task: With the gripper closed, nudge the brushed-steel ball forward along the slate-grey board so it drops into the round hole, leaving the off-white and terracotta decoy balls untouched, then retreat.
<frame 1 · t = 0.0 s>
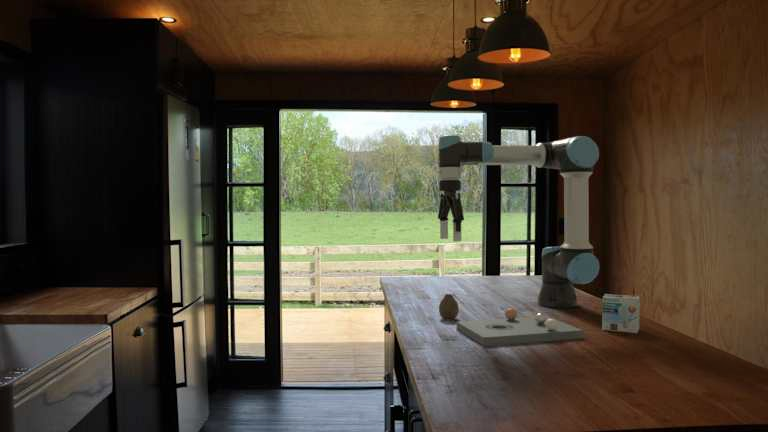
hand: (450, 240, 201), 28 cm above the kitchen island, fingers open, 13 cm apart
steel ball: (540, 318, 180), point 4 cm above the kitchen island, touching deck
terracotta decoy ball: (511, 313, 187), point 4 cm above the kitchen island, touching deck
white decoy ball: (551, 324, 172), point 4 cm above the kitchen island, touching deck
vase: (448, 319, 202), on the kitchen island
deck: (517, 333, 179), on the kitchen island
light bulb box: (620, 330, 182), on the kitchen island
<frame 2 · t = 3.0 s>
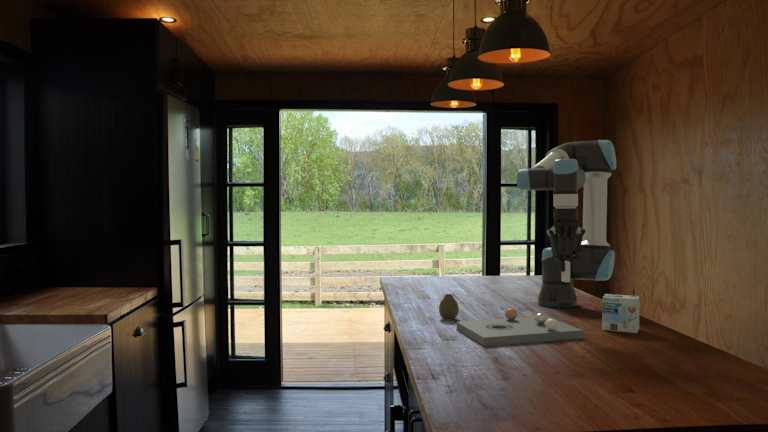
hand: (565, 281, 182), 16 cm above the kitchen island, fingers closed
nothing on the kitchen island moved.
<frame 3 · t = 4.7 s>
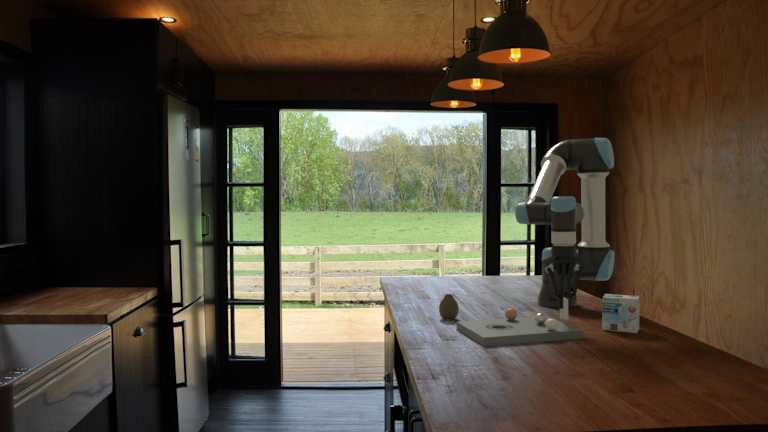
hand: (563, 318, 182), 4 cm above the kitchen island, fingers closed
nothing on the kitchen island moved.
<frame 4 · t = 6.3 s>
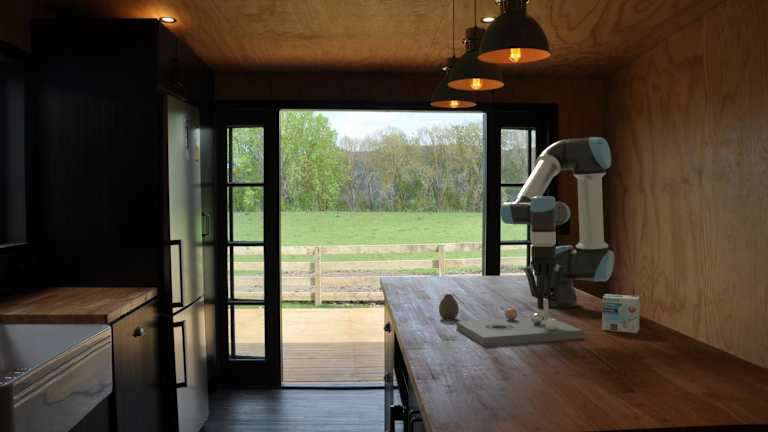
hand: (544, 319, 180), 4 cm above the kitchen island, fingers closed
steel ball: (537, 319, 180), point 4 cm above the kitchen island, tilted 38°, touching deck, gripper
everything else where it was.
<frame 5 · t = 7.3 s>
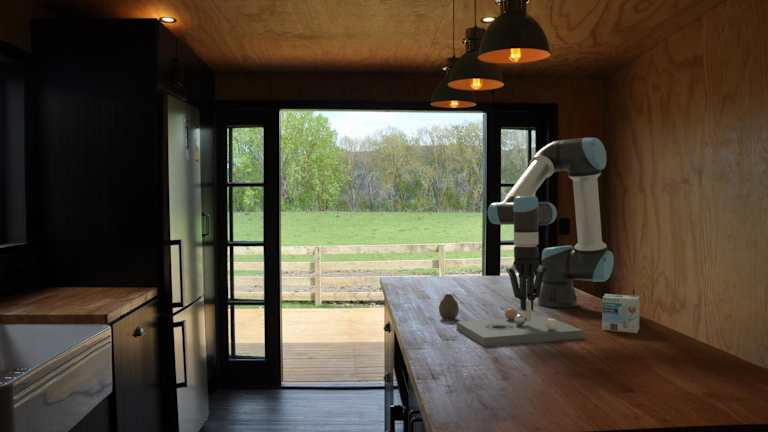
hand: (527, 320, 179), 4 cm above the kitchen island, fingers closed
steel ball: (519, 320, 179), point 4 cm above the kitchen island, tilted 166°, touching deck, gripper
everything else where it was.
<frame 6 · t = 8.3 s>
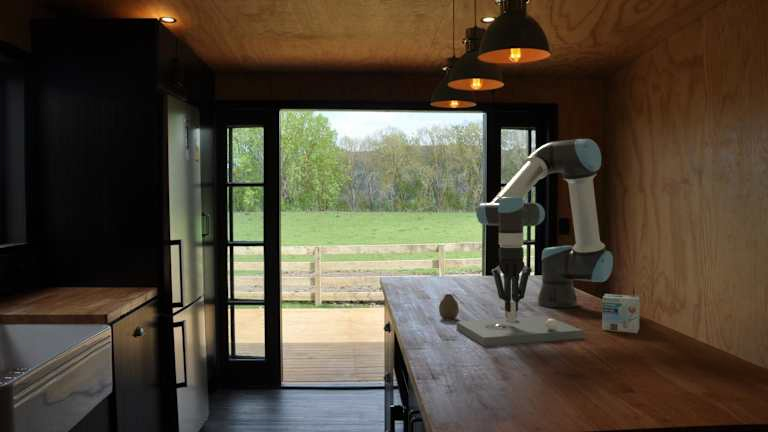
hand: (511, 321, 178), 4 cm above the kitchen island, fingers closed
steel ball: (498, 329, 177), point 2 cm above the kitchen island, tilted 114°
everything else where it was.
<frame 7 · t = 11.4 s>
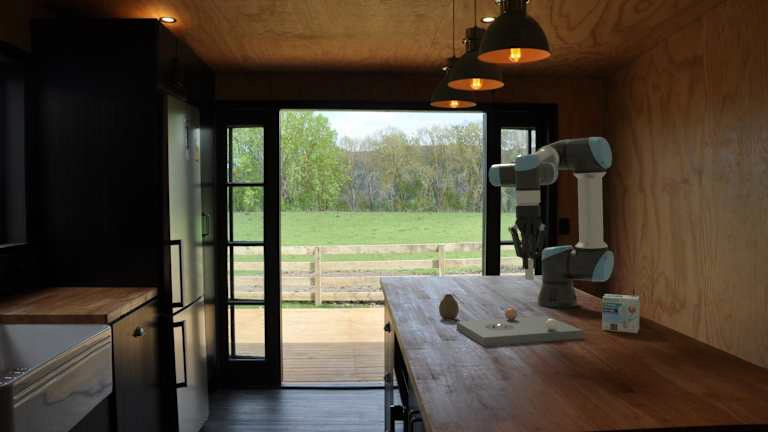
hand: (529, 279, 179), 17 cm above the kitchen island, fingers closed
steel ball: (500, 329, 177), point 2 cm above the kitchen island, tilted 95°
everything else where it was.
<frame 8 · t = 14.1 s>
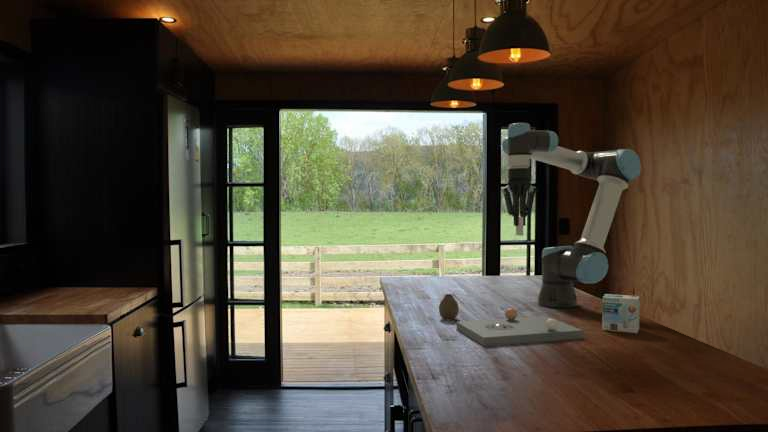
hand: (519, 235, 200), 29 cm above the kitchen island, fingers closed
steel ball: (498, 329, 177), point 2 cm above the kitchen island, tilted 110°
everything else where it was.
at the end: steel ball 0.3 cm from the target spot in the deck, point 1.7 cm above the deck's base; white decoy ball moved 0.1 cm from its start; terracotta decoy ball moved 0.1 cm from its start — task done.
